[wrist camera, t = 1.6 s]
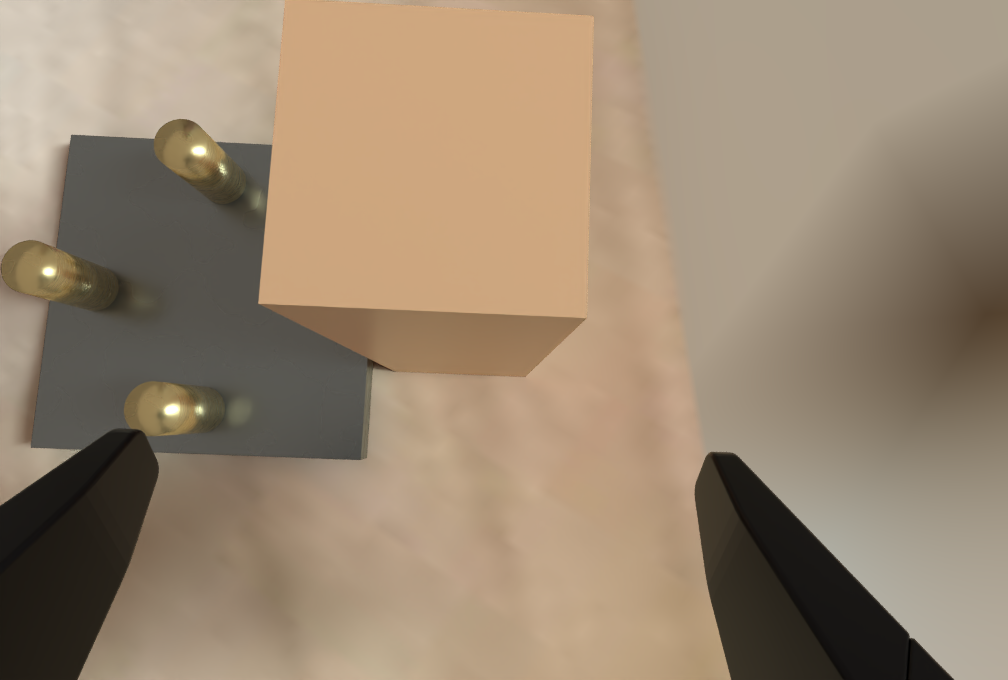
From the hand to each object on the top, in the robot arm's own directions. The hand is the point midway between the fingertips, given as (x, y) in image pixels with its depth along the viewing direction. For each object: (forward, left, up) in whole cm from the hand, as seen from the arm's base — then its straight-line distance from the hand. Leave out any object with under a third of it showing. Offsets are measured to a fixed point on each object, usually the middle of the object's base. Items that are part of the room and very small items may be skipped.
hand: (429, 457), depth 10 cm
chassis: (+4, +8, -11) cm, 15 cm away
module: (+4, 0, -11) cm, 12 cm away
